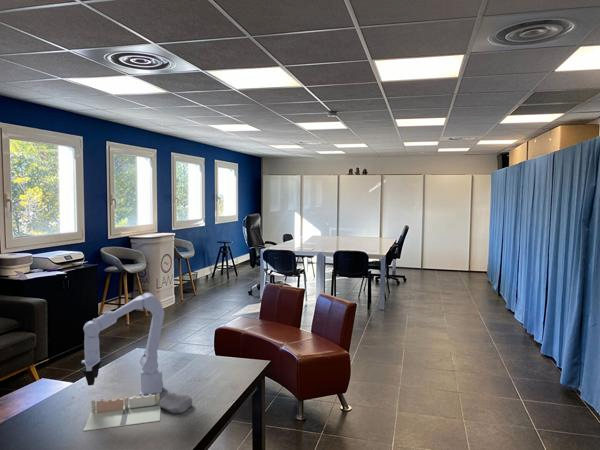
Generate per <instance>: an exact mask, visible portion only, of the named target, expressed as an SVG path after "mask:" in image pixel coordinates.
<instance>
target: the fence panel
mask: <svg viewBox="0 0 600 450" xmlns="http://www.w3.org/2000/svg"><path fill="white" fill-rule="evenodd" d="M90 402H91V405H90V407H91V411H92V413H95V409H97V412H103V411H111V410H120V409H123V408H124V405H125V404H124V398H120V397H116V398H115V399H112V398H111V397H110V398H108V399H107V400H104V399H100V400H99V401H96V400H91V401H90Z"/></svg>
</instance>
